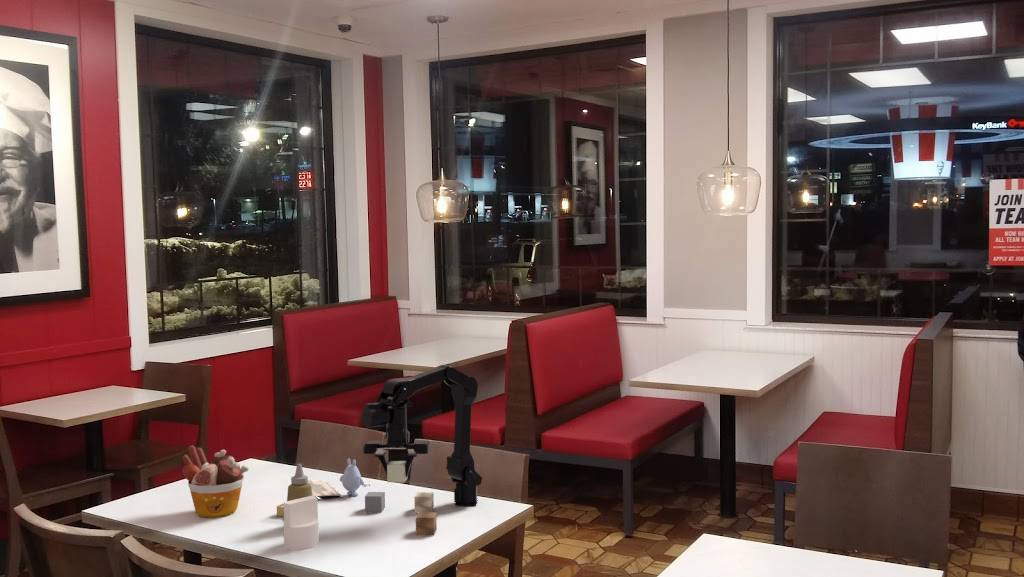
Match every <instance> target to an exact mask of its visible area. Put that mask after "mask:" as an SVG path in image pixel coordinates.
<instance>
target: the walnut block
mask: <svg viewBox="0 0 1024 577" xmlns="http://www.w3.org/2000/svg"><path fill="white" fill-rule="evenodd" d="M416 514H417V515H416V516H415V536H435V534H436V531H437V528H438V527H437V526H438V525H437V512H434V511H432V512H419V513H416Z"/></svg>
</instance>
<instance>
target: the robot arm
mask: <svg viewBox="0 0 1024 577" xmlns="http://www.w3.org/2000/svg"><path fill="white" fill-rule="evenodd" d="M441 382H444V383H445V384H446V385H447V386H449V387H450V392H451V394H450V395H451V396H452V399H453V402H454V404H455V409H454V410H455V413H454V416H455V418H454V443H453V452H452V454H451V455H450V456H447V457H446V467H445V470H447V474H448V475H449V477H450V478H451V481H452V483H455V487H454V489H453V497H454V498H453V501H454V503H455V504H454V505H455V506H456V505H476V504H478V502H479V499H478V486H480V485H481V484H482V481H483V477H482V476H481V475H480V474H479V473H478V472H477V471H476V466H475V460H474V458H473V455H472V453H471V434H472V433H471V431H472V429H471V428H472V407H473V406H472V405H473V403H474V401H475V400H476V398H477V395H478V388H479V383H478V380H477V379H476V378H475V377H473V376H468V375H467V374H466V373H463V372H461V371H459V370H457V369H456V368H455V367H453V366H451V365H446V364H441V365H439V366H437V367H435V368H432V369H430V370H429V369H428V370H427V371H424V372H420V373H417V374H414V375H412V376H409V377H398V378H397V377H396V378H390V379H387V380H385V382H384V384H383V387H382V389H381V392H380V393H379V395H378V396H377V398H376V400H375V402H373V403H369V402H368V403H365V405H364V407H365V408H363V410H362V411H361V415H360V418H361V420H360V421H361V423H362V425H363V426H364V428H366V429H371V428H376V427H382V426H386V428H385V439H386V443H382V442H381V440H368V441H367V442H366V443H365V444H363V448H362V449H363V454H365V455H371V454H372V455H374V457H376V458H378V460H379V461H380V463H381V465H382V467H383V470H384V472H385V474H386V475H387V465H388V464H389V462H390V461H389V451H407V452H408V453H407V454H406V456H405V461H406V470H405V473H406V477H407V476H408V477H409V473H410V469H411V466H412V464H413V460H414V458H417V456H418V455H428V454H429V453H430V451H431V442H430V441H429V440H416V441H415V443H410V435H411V434H410V433H411V432H410V431H409V430H408V426H407V422H408V421H407V420H408V419H407V408H411V407H413V406H414V405H413V403H412V402H411V401H410V400H409V398H411V397H412V396H413V395H414V394H416V392H418V391H419V390H422V389H424V388H427V387H431V386H433V385H436V384H438V383H441ZM477 499H478V500H477ZM477 501H478V502H477ZM476 506H477V505H476Z"/></svg>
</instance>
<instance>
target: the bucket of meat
mask: <svg viewBox="0 0 1024 577" xmlns="http://www.w3.org/2000/svg"><path fill="white" fill-rule="evenodd" d="M188 452H189V453H188V454H189V455H188V454H184V455H182V462H183V463H184V466H183V468H182V469H181V470H182V474H183V476H184V477H185V479H186V480H188V483H187V484H188V487H189V492H190V496H191V498H192V503H193V507H194V510H195V514H196V515H197V516H198V517H201V518H206V519H209V518H210V519H211V518H212V519H215V518H216V519H217V518H223V517H227V516H230V515H232V514H234V513H235V512H236V511H237V509H238V508H239V502H240V498H241V491H242V486H243V482H244V479H245V478H244V477H245V475H244V473H246V472H248V471H249V467H248V466H246V465H245V464H244V465H242V466H241V467H240V465H241V464H240V463H239V462H237V461H235V458H234V457H233V455H226V453H227V450H225V449H221V450H220V451H219V452H218V451H217V452H215V453H214V456H213V457H215V458H213V459H211V461H210V462H208V460H207V458H206V455H205V452H204V450H203V448H202V447H197V448H196V446H194V445H193V444H192V445H189V446H188Z"/></svg>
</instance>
